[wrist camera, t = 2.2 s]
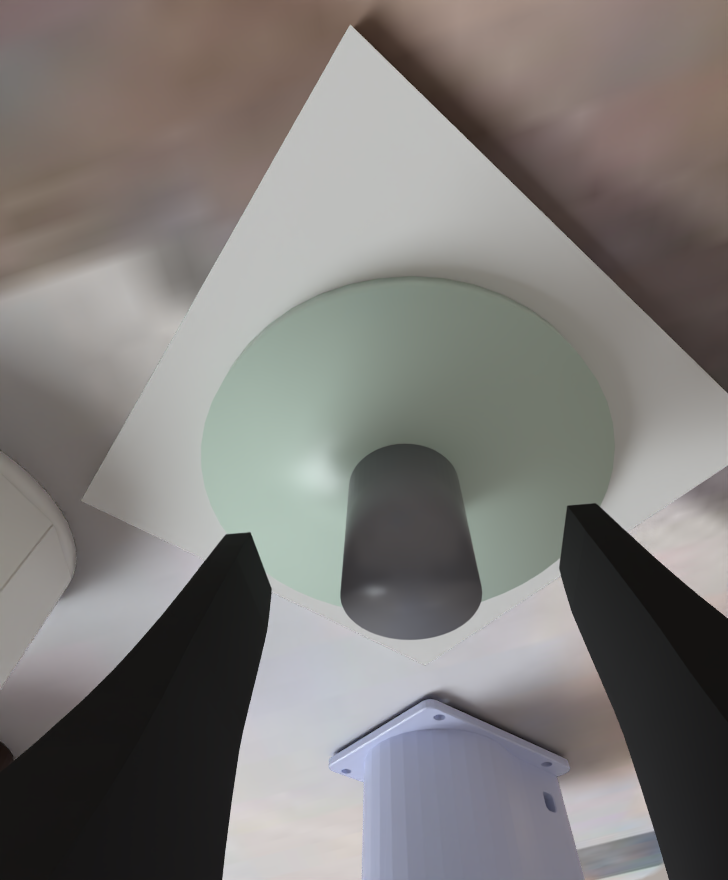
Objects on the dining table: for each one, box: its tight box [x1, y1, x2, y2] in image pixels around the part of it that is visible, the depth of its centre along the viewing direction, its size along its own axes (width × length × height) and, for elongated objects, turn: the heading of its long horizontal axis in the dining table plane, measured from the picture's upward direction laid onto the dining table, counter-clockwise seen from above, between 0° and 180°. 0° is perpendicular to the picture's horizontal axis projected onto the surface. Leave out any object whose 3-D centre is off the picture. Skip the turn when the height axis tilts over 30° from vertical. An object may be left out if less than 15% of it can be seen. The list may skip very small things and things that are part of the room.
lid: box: [201, 276, 615, 640], centre depth 12 cm, size 11×11×4 cm
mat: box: [81, 25, 728, 666], centre depth 14 cm, size 14×14×1 cm
